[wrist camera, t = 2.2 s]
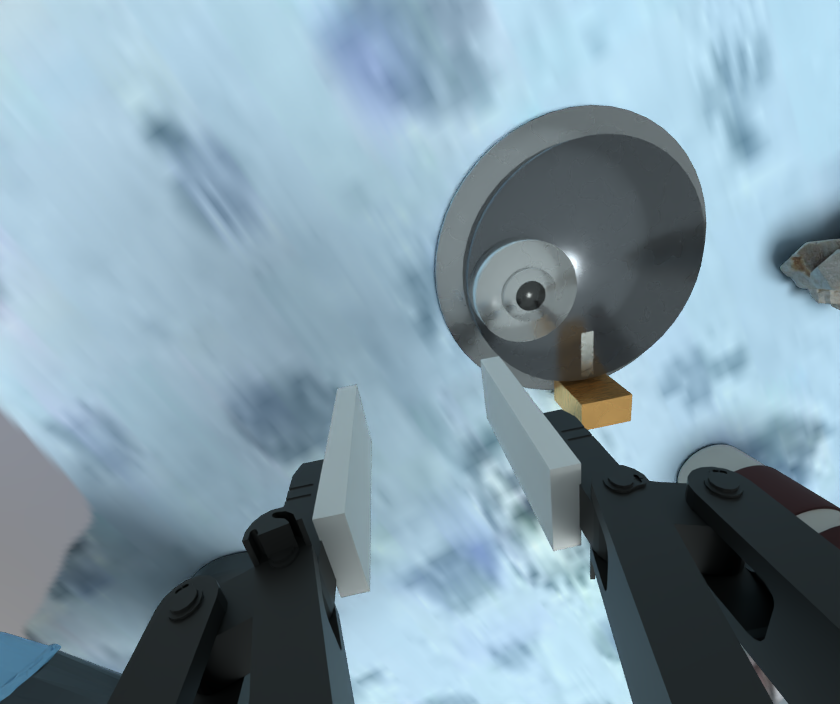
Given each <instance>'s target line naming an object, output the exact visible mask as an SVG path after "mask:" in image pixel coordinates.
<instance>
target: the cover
mask: <svg viewBox="0 0 840 704" xmlns="http://www.w3.org/2000/svg"><path fill="white" fill-rule="evenodd" d="M576 292H577V277H576V272H575V269H574V266H573V264H572V262H571V260H570V259H569V258H568V256H567V255H566V254H565V253H564V252H563V251H562V250H561V249H559V248H558V247H556V246H554V245H552V244H550V243H547V242H544V241H541V240H537V239H533V238H529V237H512V238H508V239H505V240H502V241H500V242H498V243H496V244H494V245H493V246H491V247H490V248H489V249H488V250H486V251H485V252H484V253H483V254H482V256H481V257H480V258H479V260H478V261H477V263H476V264H475V266H474V268H473V270H472V273H471V276H470V281H469V298H470V302H471V305H472V307H473V309H474V311H475V313H476V314H477V316H478V317H479V318H480V319H481V321H482V322H483V323H484V324H485V325H486V327H487V328H488V329H489V330H490V331H491V332H493V333H494V334H495V335H497V336H499V337H500V338H503V339H505V340H509V341H514V342H526V341H532V340H536V339H538V338H541V337H543V336H545V335H547V334H549V333H550V332H552V331H553V330H554V329H556V328H557V327H558V326H559V325H560V324H561V323H562V322H563V321H564V319H565V318H566V317H567V315H568V314H569V312H570V310H571V308H572V306H573V303H574V300H575V297H576Z"/></svg>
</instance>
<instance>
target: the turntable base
mask: <svg viewBox="0 0 840 704" xmlns="http://www.w3.org/2000/svg"><path fill="white" fill-rule="evenodd" d="M597 134H623V135H627V136H632V137H636V138H640V139H642V140H645V141H647V142H650V143H652V144H654V145H656V146H657V147H659V148H661V149H662V150H664V151H665V152H667V153H668V154H669V155H670V156H671V157H672V158H674V159H675V160H676V161H677V162H678V163H679V164H680V166H681V167H682V168H683V169H684V171H685V172H686V173H687V174H688V176H689V178H690V180H691V182H692V183H693V185H694V187H695V189H696V192H697V195H698V197H699V200H700V203H701V208H702V213H703V218H704V231H705V235H706V212H705V202H704V197H703V193H702V188H701V185H700V182H699V179H698V176H697V173H696V171H695V169H694V167H693V165H692V163H691V161H690V159H689V157H688V156H687V154H686V153H685V151H684V150H683V149H682V147H681V146H680V145H679V144H678V142H677V141H676V140H675V139H674V138H673V137H672V136H671V135H670V134H669V133H668V132H667V131H665V130H664V129H663V128H662V127H660V126H659V125H657V124H656V123H654V122H653V121H651V120H650V119H648V118H646V117H644V116H641V115H639V114H637V113H634V112H632V111H629V110H625V109H621V108H616V107H612V106H597V105H588V106H578V107H570V108H566V109H562V110H558V111H554V112H551V113H548V114H546V115H543V116H541V117H539V118H536V119H534V120H531V121H529V122H527V123H526V124H524V125H522V126H521V127H519V128H517V129H515V130H514V131H512V132H510V133H509V134H508V135H506V136H505V137H504V138H502V139H501V140H500V141H499V142H497V143H496V144H495V145H493V146H492V147H491V148H490V149H489V150H488V151H487V152H486V153H485V154H484V155H483V156H482V157H481V158H480V159H479V160H478V161H477V163H476V164H475V165H474V166H473V168H472V169H471V170H470V172H469V173H468V174H467V175H466V177H465V178H464V180H463V181H462V183H461V185H460V186H459V188H458V190H457V191H456V193H455V195H454V196H453V199H452V201H451V203H450V205H449V208H448V210H447V212H446V214H445V217H444V220H443V224H442V227H441V230H440V234H439V238H438V244H437V250H436V260H435V280H436V291H437V296H438V300H439V305H440V309H441V311H442V314H443V317H444V319H445V322H446V324H447V326H448V328H449V330H450V332H451V334H452V335H453V337H454V339H455V341H456V342H457V343H458V345H459V346H460V347H461V349H462V350H463V351H464V353H465V354H466V355H467V356H468V357H469V358H470V359H471V360H472V361H473V362H474V363H475V364H477V365H478V366H479V367H481V362H480V360H481V359H486V358H491V357H496V356H498V355H497V354H496V353H495V352H494V351H493V350H492V349H491V347H490V346H489V345H488V343H487V342H486V341H485V339H484V338H483V337H482V335H481V334H480V332H479V331H478V329H477V328H476V326H475V324H474V322H473V320H472V318H471V316H470V313H469V310H468V307H467V304H466V300H465V295H464V290H463V276H462V272H463V258H464V253H465V248H466V243H467V240H468V237H469V234H470V231H471V227H472V225H473V223H474V221H475V219H476V216H477V214H478V212H479V210H480V209H481V207H482V205H483V204H484V202H485V201H486V199H487V197H488V196H489V195H490V193H491V192H492V191H493V190H494V188H495V187H496V186H497V185H498V183H499V182H500V181H501V180H502V179H503V178H504V177H505V176H506V175H507V174H508V173H509V172H510V171H511V170H512V169H514V168H515V167H516V166H518V165H519V164H520V163H522V162H523V161H524V160H525V159H527V158H529V157H530V156H532V155H534V154H536V153H537V152H539V151H541V150H543V149H545V148H548V147H550V146H553V145H555V144H558V143H561V142H565V141H568V140H572V139H576V138H580V137H584V136H588V135H597ZM704 245H705V237H704ZM642 354H643V353H642ZM638 357H639V356H638ZM638 357H637V358H638ZM635 359H636V358H635ZM635 359H634V360H635ZM502 360H503V359H502ZM634 360H632V361H634ZM632 361H631V362H632ZM503 362H504V363H505V364H506V366H507V367H508V368H509V370H510V371H511V372H512V374H513V375H514V376H515V377H516V379H517V380H518V381H519V383H520V384H521V385H522V387H525V388H531V389H541V390H553V389H554V381H553V380H545V379H541V378H537V377H533V376H531V375H528V374H526V373H523V372H521V371H519V370H517V369H516V368H514V367H512V366H510V365H509V364H508V363H507V362H505V361H504V360H503ZM631 362H629V363H631ZM629 363H627V364H625V365H623V366H622V367H620V368H618V369H616V370H613V371H611V372H608V373H606V374H607V375H610V374H612V373H614V372H616V371H618V370H620V369H621V368H623V367H625V366H626V365H628V364H629Z"/></svg>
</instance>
